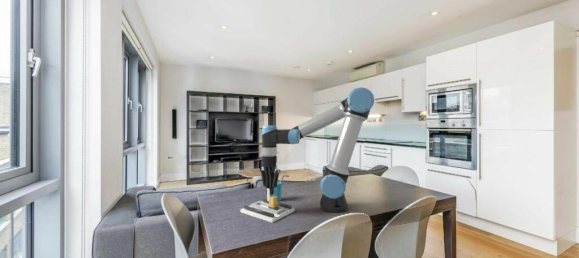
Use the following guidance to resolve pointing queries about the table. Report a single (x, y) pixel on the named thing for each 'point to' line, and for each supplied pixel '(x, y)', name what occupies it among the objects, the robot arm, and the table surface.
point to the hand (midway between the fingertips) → (270, 200)
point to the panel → (267, 210)
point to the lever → (273, 202)
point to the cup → (279, 189)
